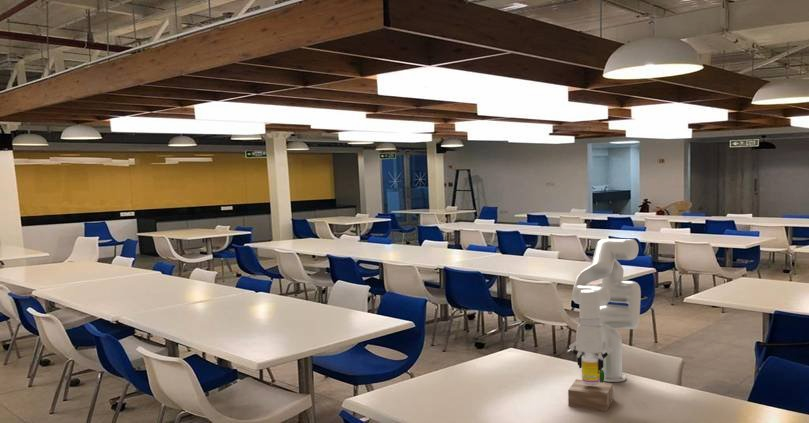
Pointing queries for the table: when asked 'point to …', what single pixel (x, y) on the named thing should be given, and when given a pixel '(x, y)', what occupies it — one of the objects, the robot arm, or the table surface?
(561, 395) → the table surface
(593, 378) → the supplement bottle
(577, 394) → the walnut block
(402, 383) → the table surface
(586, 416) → the table surface
